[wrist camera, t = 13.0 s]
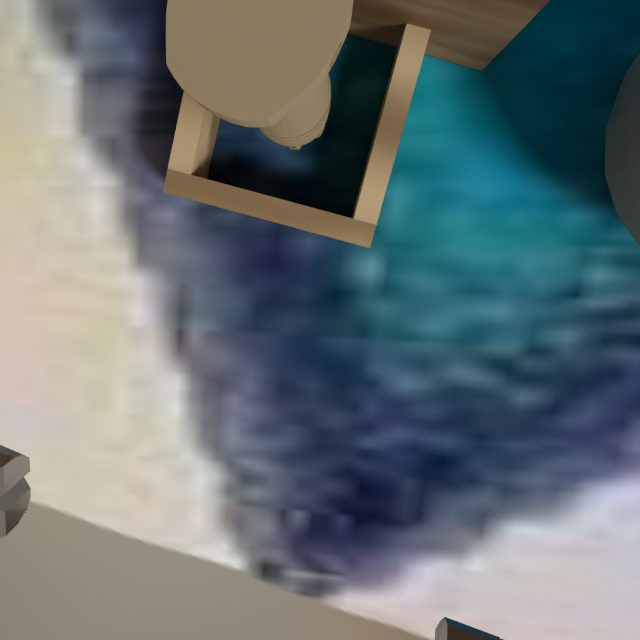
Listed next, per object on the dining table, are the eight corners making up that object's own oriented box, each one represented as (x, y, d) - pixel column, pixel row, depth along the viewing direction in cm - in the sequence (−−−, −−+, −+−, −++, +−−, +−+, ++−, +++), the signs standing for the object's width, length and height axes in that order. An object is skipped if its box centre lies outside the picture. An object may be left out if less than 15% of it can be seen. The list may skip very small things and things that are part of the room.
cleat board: (424, 261, 31) (588, 321, 11) (120, 179, 31) (-260, 93, 11) (493, 32, 29) (842, -386, 9) (167, -60, 28) (-202, -708, 9)
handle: (231, 152, 30) (133, 68, 15) (284, 44, 29) (233, -157, 14) (307, 193, 30) (283, 149, 16) (362, 87, 29) (391, -67, 15)
